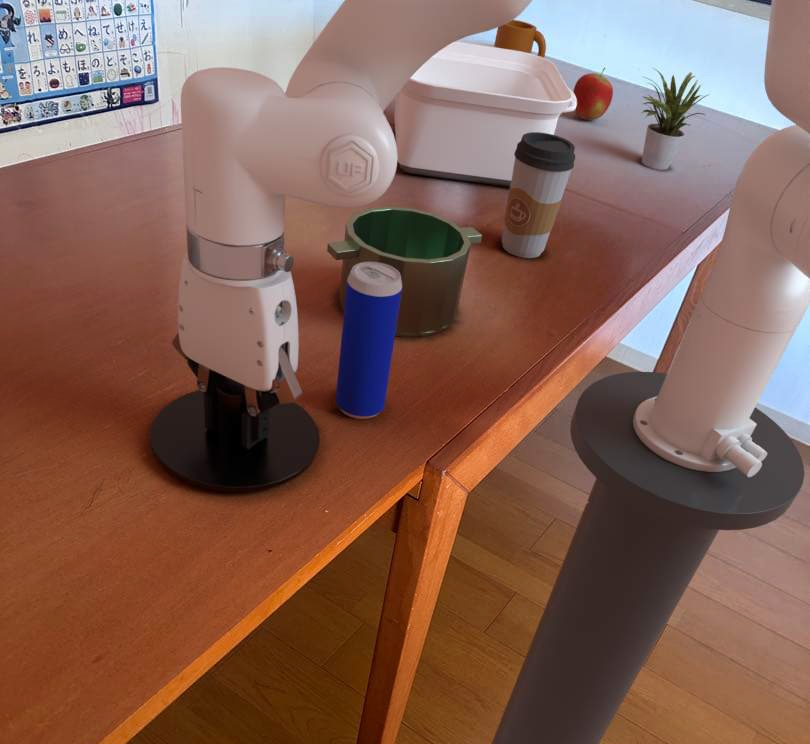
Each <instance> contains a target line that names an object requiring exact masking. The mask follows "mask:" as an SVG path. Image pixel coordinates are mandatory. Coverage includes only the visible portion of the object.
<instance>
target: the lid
mask: <svg viewBox="0 0 810 744" xmlns="http://www.w3.org/2000/svg"><path fill="white" fill-rule="evenodd" d="M259 396H262V394H261V391H259ZM216 404H217V428H216V429H214V430H211V431H210V430H208V429H206V428H205V414H204V392H201V391H200V390H199V389H197V390H194V391H192V392H188V393H186V394H184V395H183V394H182V395H181V396H179V397H177V398H175V399H173V400H172V401H170V402H169V403H168V404H166V405H165V406H163V408H162V409H161V410H160V411H159V412H158V413H157V415H156V416H155V417H154V419H153V422H152V424H151V426H150V430H149V431H150V432H149V442H150V447H151V450H152V452H153V455H154V457H155V458H156V459H157V461H158V462H159V463H160V465H161V466H162V467H163V468H164V469H165V470H166V471H168V472H169V473H170V474H172V475H173V476H175V477H177V478H178V479H180V480H182V481H184V482H187V483H188V484H191V485H194V486H197V487H199V488H203V489H207V490H211V491H218V492H226V493H249V492H257V491H258V492H260V491H264V490H269V489H273V488H275V487H276V488H277V487H279V486H282V485H284V484H286V483H289V482H291V481H292V480H294V479H296V478H298V477H299V476H300V475H302V474H304V473H305V472H306V471H307V470H308V468H310V467H311V465H312V464H313V462H314V461H315V460H316V457H317V455H318V453H319V449H320V433H319V428H318V426H317V423H316V422H315V420H314V419H313V417H312V416H311V414H310V413H309V412H308V411H307V410H305V408H303V407H302V405H300V404H298V403H296V401H295V402H294V403H290V404H283V405H280V404H279V405H275V406H274V407H272V408H270V410H269V432H268V435H267V436H266V437H265V438H264V439H263V440H261V441H259V442H258V443H256V444H255V445H254V446H253V447H251V448H250V449H246V448H244V447H243V445H242V413H243V412H244V411H246V410H247V405H246V398H245V390H244V384H241V383H239V382H237V381H235V380H233V379H230V378H228V377H226V376H222V377H220V378H219V379H218V380H217V382H216Z"/></svg>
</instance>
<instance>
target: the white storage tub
mask: <svg viewBox="0 0 810 744" xmlns="http://www.w3.org/2000/svg"><path fill="white" fill-rule="evenodd" d="M537 55H538V54H534V53H531V54H530V53H526V52H521V51H515V50H509V49H502V48H496V47H494V46H488V45H482V44H476V43H469V42H463V41H458V40H457V41H455V42H453V43H451V44H449V45H448V46H446V47H445V48H443V49H441V50H440V51H439V52H437V53H436V54H435V55H434V56H432V57H431V58H430V59H429V60H428V61H427V62H425V63H424V64H423V65H422V66H421V67H420V68H419V69H418V70H417V71H416V72H415V73H414V74H413V76H412V77H411V78H410V79H409V80H408V81H407V82H406V84H405V85H404V86H403V87H402V89H401V90H400V91H399V92H398V93H397V95H396V96H395V99H394V100H395V101H394V102H395V104H394V115H393V116H394V129H395V130H394V132H395V141H396V146H397V155H398V159H397V163H398V165H399V168H400V169H401V170H402V171H403V172H405V173H407V174H410V175H419V176H425V177H434V178H442V179H448V180H455V181H463V182H471V183H479V184H487V185H494V186H500V187H501V186H502V187H509V188H510V186H511V180H512V174H513V168H514V162H515V155H514V153H515V151H516V149H517V144H518V143H519V142H520V141H521V139H522V136H523V135H524V134H526V133H531V132H540V133H547V134H552V135H555V132H556V128H557V124H558V122H559V117H560V116H561V114H562V113H571V112H575V109H576V106H577V99H576V96H575V94H574V93H573V90H572V89H570V88H569V87H568V85H567V83H566V81H565V80H564V78H563V76H562V75H561V72H560V71H559V69H558V68H557V65H556V64H554V63H553V61H551V60H549V59H547V58H545V57H544V58H543V57H540V56H537Z"/></svg>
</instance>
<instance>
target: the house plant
mask: <svg viewBox="0 0 810 744" xmlns="http://www.w3.org/2000/svg"><path fill="white" fill-rule="evenodd" d="M652 69H654V70H655V71H656V72H657V73H658V74H659V76H660V79H661V81H662V87H663V91H662V89H661V88H660V86H659V85H658V84H657V83H656V82H655V81H654V80H652V79H650V78H648V77H645V76H643V78H644V79H647V80H649V81H651V82H652V83H654V84H655V85H656V86H657V87H658V88H657V87H656V86H655V85H654V84H652V83H650V82H647V84H649V85H651V86H652V87H654V89H655V90H656V93H657V97H658V99H656V98H654V97H653V96H651V95H650V94H649V93H646V94H647V95H648V96H643V95H642V96H641V97H642V98H643V99H645V100H647V101H646V102H644V103H643V102H641V105H645V106H648V108H649V109H644V110H643V111H642V112H641V114H643V113H647V114H646V115H645V116H644V119H646V118H647V117H651V116H654V117H655V119H656V122H657V123H650V124H648V125H647V126H646V127H647V128H646V133H645V139H644V145H643V151H642V156H641V163H642V164H643V166H646V167H648V168H651V169H654V170H663V171H664V170H667V169H669V166H670V165H671V164H672V163H671V162H672V161H673V158H674V157H675V155H676V153H677V151H678V149H679V147H680V145H681V144H682V142H683V140H684V138H685V134H686V133H685V131H683V130H681V128H682V127H684V126H688V127H690V126H691V124H689V123H686V122H684V121H685V120H686V119H688V118H689V117H692V116H694V115H703V116H706V114H705V113H703V112H695V113H692V114H689V115H686V116H685V114H686V113H687V112H688V111H689V110H690V109H691V108H692V107H694V106H695V105H696V104H697V103H699V102H700V101H702V99H704V98H706V97H707V96H709V94H707V95H702V94H699V95H697V94H698V92H699V90H700V88H701V86H702V84H700V85H699V86H697V84H698V81H699V79H696V80H695V82H694V84H693V85H692V86H691V88H690V89H689V91H688V93H686V95H685V97H684V98H683V96H684V94H685V91H686V89H687V86H688V85H689V83H690V82H691V80H692V79H693V78H695V77H696V75H693V73H692V72H691V71H690V72H689V73H687V75H686V76H684V79H683V80H682V82H681V84H680V87H679V88H678V92H677V85H676V78H675V75H674V74H672V76H671V79H670V80H671V81H670V85H669V87H668V83H667V81H666V79H665V77H664V75H663V74H662V73H661V72H660V71H659V70H658V69H656V68H654V67H652ZM696 86H697V88H696ZM695 88H696V89H695ZM658 89H659V90H658ZM663 92H664V93H663ZM660 93H661V94H660ZM660 95H662V98H663V101H664V102H662V99H661V96H660ZM682 99H683V100H682ZM681 101H682V102H681ZM648 104H649V105H652V106H653V108H652V107H651V106H649V105H648ZM664 114H665V115H664Z"/></svg>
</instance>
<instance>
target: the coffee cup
mask: <svg viewBox="0 0 810 744" xmlns="http://www.w3.org/2000/svg"><path fill="white" fill-rule="evenodd" d="M575 150H576V147H575V145H574V143H573V142H571V141H570V140H569V139H566V138H565V137H561V136H559V135H555V134H554V135H552V134H547V133H540V132H531V133H526V134H524V135H523V136H522V139H521V141H520V142H519V143H518V144H517V149H516V151H515V153H514V155H515V162H514V168H513V174H512V180H511V186H510V187H509V189H508V196H507V202H506V208H505V214H504V225H503V229H502V236H501V244H502V248H503V250H505V251H506V252H507V253H508V254H511V255H513V256H515V257H519V258H525V259H532V258H538V257H539V256H541V254H542V253H544V251H545V249H546V245H547V242H548V239H549V237H550V234H551V231H552V229H553V227H554V224H555V221H556V219H557V216H558V212H559V210H560V206H561V204H562V200H563V195H564V192H565V189H566V187H567V185H568V180H569V178H570V175H571V172H572V170H573V169H574V167H575V160H576V154H575Z"/></svg>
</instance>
